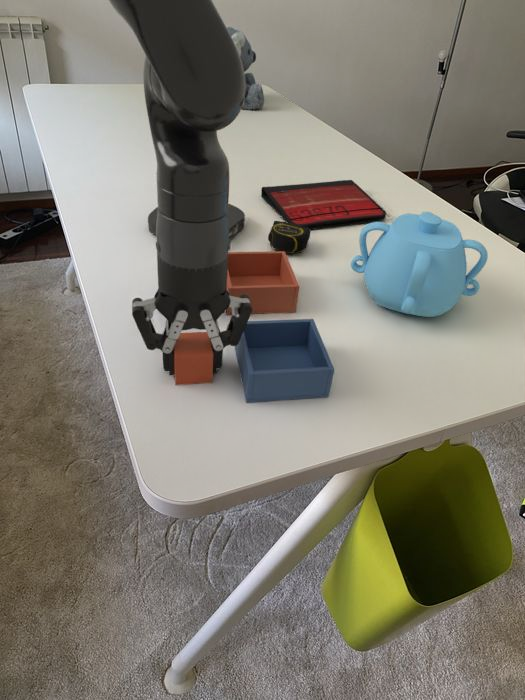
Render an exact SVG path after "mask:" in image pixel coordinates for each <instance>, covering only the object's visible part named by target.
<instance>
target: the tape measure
mask: <svg viewBox="0 0 525 700" xmlns="http://www.w3.org/2000/svg"><path fill="white" fill-rule="evenodd" d="M310 238H311V230H310V229H309V228H308V227H306V226H303V225H298V224H293V223H288V222H287V221H280V220H274V221H273V223H272V226H271V227H270V231H269V232H268V236H267V240H268V242H269V244H270V246H271V247H272V248H273V249H274V250H275V251H285V253H286V254H297V253H301V252H303V251H304V250H306V249H307V247H308V244H309V240H310Z"/></svg>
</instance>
